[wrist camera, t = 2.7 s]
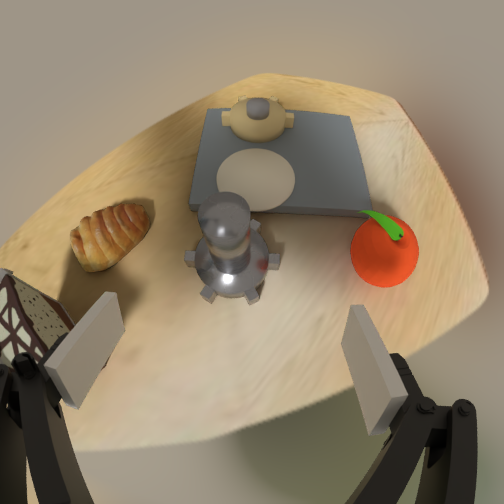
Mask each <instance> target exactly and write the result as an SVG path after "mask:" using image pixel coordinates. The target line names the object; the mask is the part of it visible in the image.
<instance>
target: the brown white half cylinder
mask: <svg viewBox="0 0 504 504" xmlns="http://www.w3.org/2000/svg"><path fill="white" fill-rule="evenodd" d="M12 274H13V271H10V270H8V269H5V268H4V269H3V268H0V364H5V365H7V366H8V368H9V370H10V372H15V370H14V368H13V367H12V365H11V362H12V359H13V358H14V357H15V356H16V355H17V354H19V353H22V352H29V353H31V354H32V355H33V357H34V359H35V361H36V363H38V362H39V361H40V360H41V358H42V357H43V356H44V355H45V353H46V352H47V351H48V350H49V349H50V347H51V346H52V345H54V342H55V341H56V340H57V339H58V338H59V337H60V336H61V335H63V334H64V333H66V332H68V333H70V331H71V330H72V329H73V328H74V327H75V326H76V325H75V323H74V322H73V320H72V319H71V317H70V316H69V314H68V313H67V311H66V310H65V308H64V307H63V305H62V303H60V302H59V301H57V300H55V299H53V298H51V297H49V296H48V295H46V294H44V293H42V292H40V291H39V290H37V289H35V288H34V287H32V286H30V285H28V284H27V283H25V282H23V281H22V280H20V279H19V278H17V277H15V276H14V275H12ZM105 366H106V365H105V364H104V366H103V368H104V367H105ZM103 368H102V369H103ZM102 369H101V370H102Z"/></svg>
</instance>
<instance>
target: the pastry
mask: <svg viewBox="0 0 504 504" xmlns="http://www.w3.org/2000/svg"><path fill="white" fill-rule="evenodd" d="M149 225H150V221H149V218H148V216H147V214H146V212H145V210H144V208H143V206H142V205H136V204H119V205H118V206H116V207H112V206H108V207H107V208H106V209H105V210H98V211H95V212H93V214H92V216H91V217H89V216H86V217H84V218H83V219H81V221H80V224H79V226H78V227H76V228H75V229H74V230H72V231H71V233H70V240H71V246H72V249H73V251H74V252H75V256H76V258H77V259H78V261H79V263H80V265H81V266H82V267H83V269H84V270H85V271H86V272H96V271H102V270H106V269H107V268H109V267H111V266H113V265H115V264H116V263H117V262H118V261H120V260H121V259H122V258H123V257H124V256H125V255H127V254H128V252H130V251H131V250H132V249H133V248H134V247H135V246H136V245H137V244H138V243H139V242H140V241H141V240H142V239H143V238H144V236H145V234H146V233H147V231H148V229H149Z"/></svg>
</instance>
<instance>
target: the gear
mask: <svg viewBox="0 0 504 504" xmlns="http://www.w3.org/2000/svg"><path fill="white" fill-rule="evenodd" d="M198 221H199V224H200V227H201V230H202V233H203V238H202V239H201V240H200V242H199V244H198V246H197V248H196V251H185V258H184V261H185V262H186V264H187V266H188V267H196V270H197V273H198V275H199V276H200V278H201V280H202V282H203V283H204V285H205V287H204V288H203V290H202V291H201V293H200V295H201V296H202V298H203V299H205V300H206V301H208V302H210V303H211V304H212V302H213V301H214V299H215V298H216V296H217V295H219V296H221V297H225V298H240V297H244V296H245V298H246V300H247V302H248V304H249V305H251V304H253V303H255V302H257V301H259V295H258V293H257V291H256V289H257V288H258V287H259V286H260V285H261V284H262V282H263V281H264V279H265V277H266V274H267V270H278V268H279V265H280V254H274V253H269V252H268V248H267V245H266V243H265V241H264V239H263V238H262V237H261V236H260V234H259V233H260V232H261V223H259V222H258V221H256V220H254V219H252V220H251V222H250V207H249V205H248V203H247V201H246V200H245V199H244V198H243V197H242V196H240V195H238V194H236V193H233V192H218V193H215V194H212V195H211V196H209V197H207V198H206V199H205V200H204V201H203V202H202V204H201V205H200V207H199V210H198Z"/></svg>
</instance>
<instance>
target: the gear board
mask: <svg viewBox="0 0 504 504" xmlns="http://www.w3.org/2000/svg"><path fill="white" fill-rule="evenodd" d="M278 99H279V98H276V97H274V96H271V97H270V98H269V99H266V98H247V97H246V96H245V95H244V96H241V97H238V103H236V104H235V105H234V106H233V107H232V108H219V109H208V110H207V114H206V118H205V123H204V127H203V132H202V136H201V141H200V146H199V151H198V156H197V161H196V166H195V171H194V176H193V182H192V187H191V193H190V199H189V206H190V209H191V211H198V210H199V207H200V205H201V204H202V202H203V201H204V200H205V199H206V198H207V197H209V196H211V195H212V194H215V193H218V192H233V193H236V194H238V195H240V196H242V197H243V198H244V199H245V200H246V201H247V203H248V205H249V207H250V212H264V213H290V214H312V215H330V216H346V217H361V218H369V216H370V215H368V214H366V213H363V212H361V213H357V212H360V211H363V210H372V204H371V199H370V194H369V190H368V185H367V181H366V176H365V172H364V168H363V163H362V159H361V155H360V152H359V148H358V144H357V140H356V137H355V133H354V130H353V126H352V123H351V119H350V116H343V115H336V114H327V113H318V112H308V111H296V110H284V108H283V107H282V106H281V105H280V104H279V103H278ZM372 211H373V210H372Z"/></svg>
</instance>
